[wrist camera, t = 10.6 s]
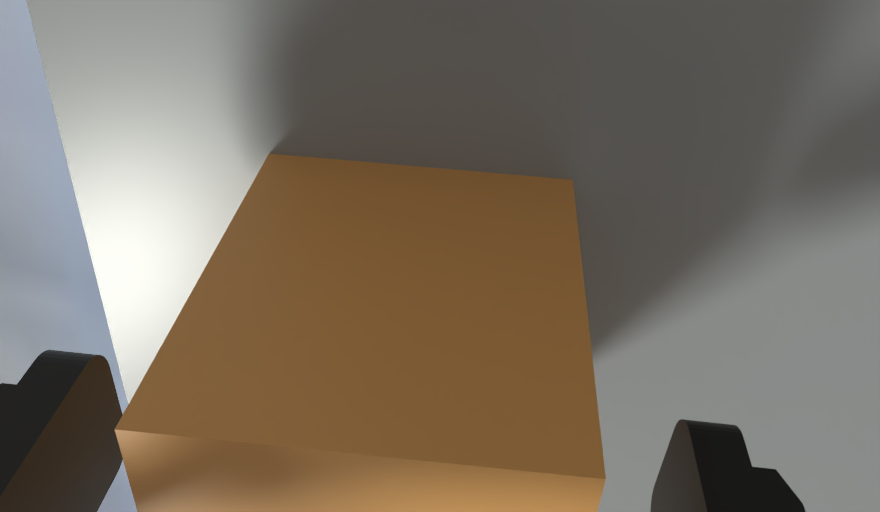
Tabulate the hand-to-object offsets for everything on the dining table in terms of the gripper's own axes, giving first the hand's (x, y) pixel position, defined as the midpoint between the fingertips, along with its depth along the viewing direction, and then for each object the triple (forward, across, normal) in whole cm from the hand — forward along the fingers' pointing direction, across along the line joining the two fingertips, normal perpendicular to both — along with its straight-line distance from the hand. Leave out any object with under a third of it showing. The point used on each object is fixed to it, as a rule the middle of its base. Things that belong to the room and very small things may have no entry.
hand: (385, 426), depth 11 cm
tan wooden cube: (+4, 0, 0) cm, 4 cm away
